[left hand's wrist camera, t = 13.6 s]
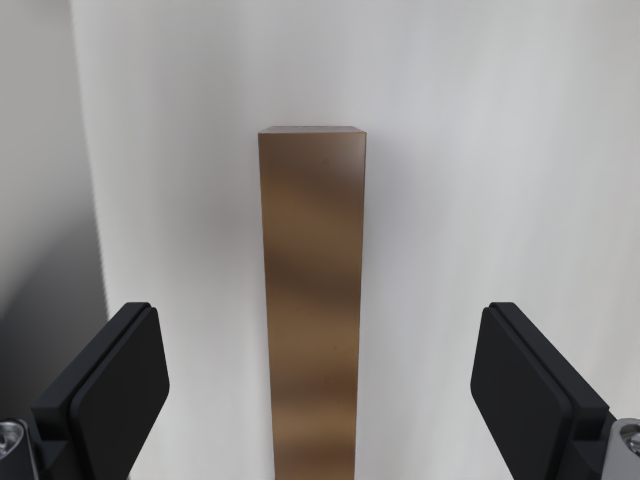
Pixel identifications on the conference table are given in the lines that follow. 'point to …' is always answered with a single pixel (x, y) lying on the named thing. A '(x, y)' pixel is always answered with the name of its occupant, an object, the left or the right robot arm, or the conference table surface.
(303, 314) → the post
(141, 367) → the left robot arm
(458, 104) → the conference table surface
